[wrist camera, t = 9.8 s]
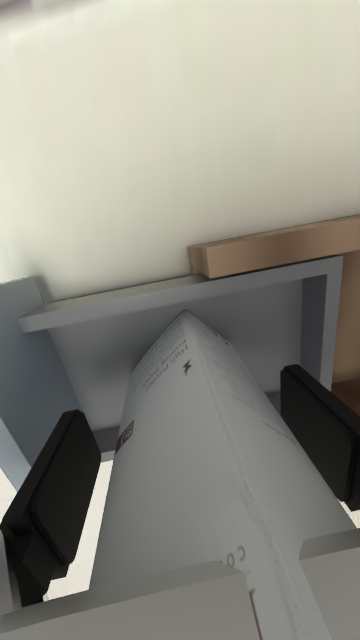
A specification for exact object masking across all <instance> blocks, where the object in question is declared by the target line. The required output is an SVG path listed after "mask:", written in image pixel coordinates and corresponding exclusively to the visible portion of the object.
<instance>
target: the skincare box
mask: <svg viewBox="0 0 360 640" xmlns="http://www.w3.org/2000/svg"><path fill="white" fill-rule="evenodd" d="M354 529H357V528H356V526H355V525H354V523H353V522H352V520H351V519H350V517H349V516H348V514H347V513H346V511H345V510H344V508H343V507H342V505H341V504H340V502H339V501H338V499H337V498H336V496H335V495H334V493H333V492H332V490H331V489H330V487H329V486H328V485H327V483H326V482H325V480H324V479H323V477H322V476H321V474H320V473H319V471H318V470H317V468H316V467H315V466H314V464H313V463H312V461H311V460H310V458H309V457H308V455H307V454H306V452H305V451H304V449H303V448H302V446H301V445H300V444H299V442H298V441H297V439H296V438H295V436H294V435H293V433H292V432H291V430H290V429H289V428H288V426H287V425H286V423H285V422H284V420H283V419H282V417H281V416H280V414H279V413H278V412H277V410H276V409H275V407H274V406H273V405H272V403H271V402H270V400H269V399H268V397H267V396H266V394H265V393H264V391H263V390H262V388H261V387H260V386H259V384H258V383H257V381H256V380H255V378H254V377H253V376H252V374H251V373H250V371H249V370H248V368H247V367H246V365H245V364H244V362H243V361H242V360H241V358H240V357H239V355H238V354H237V352H236V351H235V349H234V348H233V346H232V345H231V343H230V342H228V341H227V340H225V339H224V338H223V337H222V336H220V335H219V334H218V333H216V332H215V331H214V330H212V329H211V328H210V327H208V326H207V325H206V324H204V323H203V322H202V321H200V320H199V319H198V318H196V317H195V316H194V315H192V314H191V313H189V312H188V311H184V312H182V313H181V314H180V315H179V316H178V317H177V318H176V319H175V320H174V321H173V322H172V323H171V324H170V325H169V326H168V328H167V329H166V330H165V331H164V332H163V333H162V334H161V335H160V337H159V338H158V339H157V340H156V341H155V343H154V344H153V345H152V346H151V347H150V349H149V350H148V351H147V352H146V354H145V355H144V356H143V357H142V359H141V360H140V361H139V363H138V364H137V365H136V367H135V368H134V369H133V371H132V373H131V374H130V378H129V384H128V389H127V393H126V399H125V404H124V409H123V414H122V419H121V425H120V429H119V435H118V440H117V445H116V450H115V454H114V461H113V466H112V471H111V476H110V482H109V487H108V492H107V496H106V501H105V507H104V512H103V517H102V523H101V528H100V533H99V538H98V544H97V549H96V554H95V559H94V564H93V570H92V575H91V580H90V585H89V590H91V589H95V588H99V587H104V586H108V585H112V584H116V583H120V582H125V581H129V580H133V579H137V578H141V577H146V576H150V575H154V574H158V573H163V572H167V571H171V570H175V569H180V568H184V567H188V566H193V565H197V564H201V563H206V562H210V561H214V560H215V561H217V562H220V563H223V564H225V565H228V566H230V567H233V568H235V569H238V570H240V571H243V572H244V573H245V577H246V582H247V586H248V590H249V595H250V599H251V603H252V608H253V612H254V616H255V621H256V625H257V629H258V633H259V637H260V640H332V639H331V636H330V634H329V632H328V629H327V627H326V624H325V622H324V620H323V617H322V615H321V612H320V610H319V608H318V605H317V603H316V600H315V598H314V596H313V593H312V591H311V588H310V586H309V584H308V581H307V579H306V576H305V574H304V572H303V569H302V567H301V565H300V562H299V554H300V550H301V547H302V544H303V541H304V540H307V539H311V538H316V537H320V536H325V535H329V534H334V533H339V532H344V531H349V530H354Z"/></svg>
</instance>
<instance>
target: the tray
mask: <svg viewBox="0 0 360 640" xmlns="http://www.w3.org/2000/svg"><path fill="white" fill-rule="evenodd" d="M343 256H344V255H329V256H324V257H319V258H313V259H308V260H303V261H298V262H293V263H288V264H282V265H277V266H272V267H267V268H262V269H257V270H251V271H246V272H241V273H236V274H231V275H226V276H220V277H215V278H208V277H207V276H205V275H204V274H197V275H192V276H187V277H182V278H176V279H171V280H166V281H161V282H156V283H150V284H145V285H140V286H135V287H130V288H124V289H119V290H114V291H109V292H104V293H98V294H93V295H88V296H83V297H78V298H72V299H67V300H62V301H57V302H52V303H46V304H45V303H44V300H43V298H42V295H41V293H40V290H39V288H38V286H37V283H36V281H35V278H34V276H33V277H28V278H22V279H17V280H12V281H8V282H4V283H0V468H1V469H2V471H3V472H4V474H5V475H6V476H7V478H8V479H9V481H10V482H11V484H12V485H13V487H14V488H15V489H16V491H17V492H18V491H19V489H20V487H21V485H22V484H23V482H24V480H25V478H26V477H27V475H28V473H29V471H30V470H31V468H32V466H33V464H34V463H35V461H36V459H37V457H38V456H39V454H40V452H41V450H42V449H43V447H44V445H45V443H46V442H47V440H48V438H49V436H50V435H51V433H52V431H53V429H54V428H55V426H56V424H57V422H58V421H59V419H60V417H61V415H62V414H63V413H64V412H66V411H70V410H75V409H78V410H80V412H84V414H85V417H86V419H87V421H88V424H89V426H90V428H91V431H92V433H93V435H94V438H95V440H96V442H97V444H98V447H99V449H100V451H101V462H106V461H110V460H114V454H115V450H116V445H117V440H118V435H119V429H120V425H121V419H122V414H123V409H124V404H125V399H126V393H127V389H128V384H129V378H130V374H131V373H132V371H133V369H134V368H135V367H136V365H137V364H138V363H139V361H140V360H141V359H142V357H143V356H144V355H145V354H146V352H147V351H148V350H149V349H150V347H151V346H152V345H153V344H154V343H155V341H156V340H157V339H158V338H159V337H160V335H161V334H162V333H163V332H164V331H165V330H166V329H167V328H168V326H169V325H170V324H171V323H172V322H173V321H174V320H175V319H176V318H177V317H178V316H179V315H180V314H181V313H182V312H184V311H188V312H189V313H191V314H192V315H194V316H195V317H196V318H198V319H199V320H200V321H202V322H203V323H204V324H206V325H207V326H208V327H210V328H211V329H212V330H214V331H215V332H216V333H218V334H219V335H220V336H222V337H223V338H224V339H225V340H227V341H228V342H230V343H231V345H232V346H233V348H234V349H235V351H236V352H237V354H238V355H239V357H240V358H241V360H242V361H243V362H244V364H245V365H246V367H247V368H248V370H249V371H250V373H251V374H252V376H253V377H254V378H255V380H256V381H257V383H258V384H259V386H260V387H261V388H262V390H263V391H264V393H265V394H266V396H267V397H268V399H269V400H270V402H271V403H272V405H273V406H274V407H275V409H276V410H277V412H278V413H279V414H280V416H281V401H280V371H281V370H283V368H284V366H288V365H293V364H298V365H300V366H301V367H302V368H303V369H304V370H305V371H307V372H308V373H309V374H310V375H311V376H312V377H314V378H315V379H316V380H317V381H318V382H319V383H321V384H322V385H323V386H324V387H325V388H326V389H328V390H329V391H330V392H331V384H332V373H333V363H334V352H335V341H336V331H337V320H338V309H339V299H340V288H341V277H342V267H343Z"/></svg>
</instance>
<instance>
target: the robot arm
mask: <svg viewBox="0 0 360 640" xmlns="http://www.w3.org/2000/svg"><path fill="white" fill-rule="evenodd" d="M280 401H281V417H282V419H283V420H284V422H285V423H286V425H287V426H288V428H289V429H290V430H291V432H292V433H293V435H294V436H295V438H296V439H297V441H298V442H299V444H300V445H301V446H302V448H303V449H304V451H305V452H306V454H307V455H308V457H309V458H310V460H311V461H312V463H313V464H314V466H315V467H316V468H317V470H318V471H319V473H320V474H321V476H322V477H323V479H324V480H325V482H326V483H327V485H328V486H329V487H330V489H331V490H332V492H333V493H334V495H335V496H336V497H337V499H338V500H340V501H341V502H343V501H344V502H345V504H346V505H347V506H348V508H349V509H350V510H351V512H352V511H356V510H360V416H359V415H357V414H356V413H355V412H354V411H353V410H352V409H350V408H349V407H348V406H347V405H346V404H345V403H343V402H342V401H341V400H340V399H339V398H338V397H336V396H335V395H334V394H333V393H332V392H330V391H329V390H328V389H326V388H325V387H324V386H323V385H322V384H321V383H319V382H318V381H317V380H316V379H315V378H314V377H312V376H311V375H310V374H309V373H308V372H307V371H305V370H304V369H303V368H302V367H301V366H300V365H298V364H293V365H288V366H284V368H283V370H281V371H280ZM100 463H101V451H100V449H99V447H98V444H97V442H96V440H95V438H94V435H93V433H92V431H91V428H90V426H89V424H88V421H87V419H86V417H85V414H84V412H80V410H78V409H75V410H70V411H66V412H64V413H63V414H62V415H61V417H60V419H59V421H58V422H57V424H56V426H55V428H54V429H53V431H52V433H51V435H50V436H49V438H48V440H47V442H46V443H45V445H44V447H43V449H42V450H41V452H40V454H39V456H38V457H37V459H36V461H35V463H34V464H33V466H32V468H31V470H30V471H29V473H28V475H27V477H26V478H25V480H24V482H23V484H22V485H21V487H20V489H19V491H18V492H17V494H16V496H15V498H14V499H13V501H12V503H11V505H10V506H9V508H8V510H7V512H6V513H5V515H4V517H3V519H2V522H1V524H0V640H260V637H259V633H258V629H257V625H256V621H255V616H254V612H253V608H252V603H251V599H250V595H249V590H248V586H247V582H246V577H245V573H244V572H243V571H240V570H238V569H235V568H233V567H230V566H228V565H225V564H223V563H220V562H217V561H215V560H214V561H210V562H206V563H201V564H197V565H193V566H188V567H184V568H180V569H175V570H171V571H167V572H163V573H158V574H154V575H150V576H146V577H141V578H137V579H133V580H129V581H125V582H120V583H116V584H112V585H108V586H104V587H99V588H95V589H91V590H87V591H83V592H79V593H75V594H71V595H67V596H64V597H60V598H56V599H52V600H48V596H47V591H48V588H49V584H50V581H51V580H54V579H59V578H63V577H66V575H67V571H68V568H69V564H70V563H72V562H73V561H74V559H75V556H76V552H77V549H78V545H79V541H80V538H81V534H82V530H83V526H84V523H85V519H86V515H87V511H88V508H89V504H90V500H91V497H92V493H93V489H94V485H95V482H96V478H97V474H98V471H99V467H100ZM299 562H300V565H301V567H302V569H303V572H304V574H305V576H306V579H307V581H308V584H309V586H310V588H311V591H312V593H313V596H314V598H315V600H316V603H317V605H318V608H319V610H320V612H321V615H322V617H323V620H324V622H325V624H326V627H327V629H328V632H329V634H330V636H331V639H332V640H360V528H359V529H354V530H349V531H344V532H339V533H334V534H329V535H325V536H320V537H316V538H311V539H307V540H304V541H303V544H302V547H301V550H300V554H299Z"/></svg>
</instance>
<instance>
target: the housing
mask: <svg viewBox="0 0 360 640" xmlns="http://www.w3.org/2000/svg"><path fill="white" fill-rule="evenodd" d="M187 249H188V256H189V262H190V268H191V275H197V274H204V275H205V276H207V277H208V278H215V277H220V276H226V275H231V274H236V273H241V272H246V271H251V270H257V269H262V268H267V267H272V266H277V265H282V264H288V263H293V262H298V261H303V260H308V259H313V258H319V257H324V256H329V255H344V256H343V267H342V277H341V288H340V299H339V309H338V320H337V331H336V341H335V352H334V363H333V373H332V384H331V392H332V393H333V394H334V395H335V396H336V397H338V398H339V399H340V400H341V401H342V402H343V403H345V404H346V405H347V406H348V407H349V408H350V409H352V410H353V411H354V412H355V413H356V414H357V415H359V416H360V214H358V215H353V216H347V217H342V218H337V219H332V220H326V221H321V222H316V223H310V224H305V225H300V226H294V227H289V228H284V229H279V230H273V231H268V232H263V233H257V234H252V235H247V236H241V237H236V238H231V239H225V240H220V241H215V242H210V243H204V244H199V245H194V246H188V247H187Z"/></svg>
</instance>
